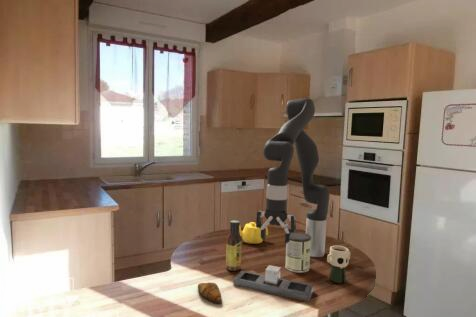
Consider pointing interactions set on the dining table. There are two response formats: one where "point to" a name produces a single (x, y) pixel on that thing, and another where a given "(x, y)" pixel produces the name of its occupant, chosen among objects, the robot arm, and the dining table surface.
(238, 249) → the sauce bottle
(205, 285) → the croissant
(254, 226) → the teapot
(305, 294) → the tray
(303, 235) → the coffee can
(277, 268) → the white rectangular block
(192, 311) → the dining table surface
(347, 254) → the character mug
